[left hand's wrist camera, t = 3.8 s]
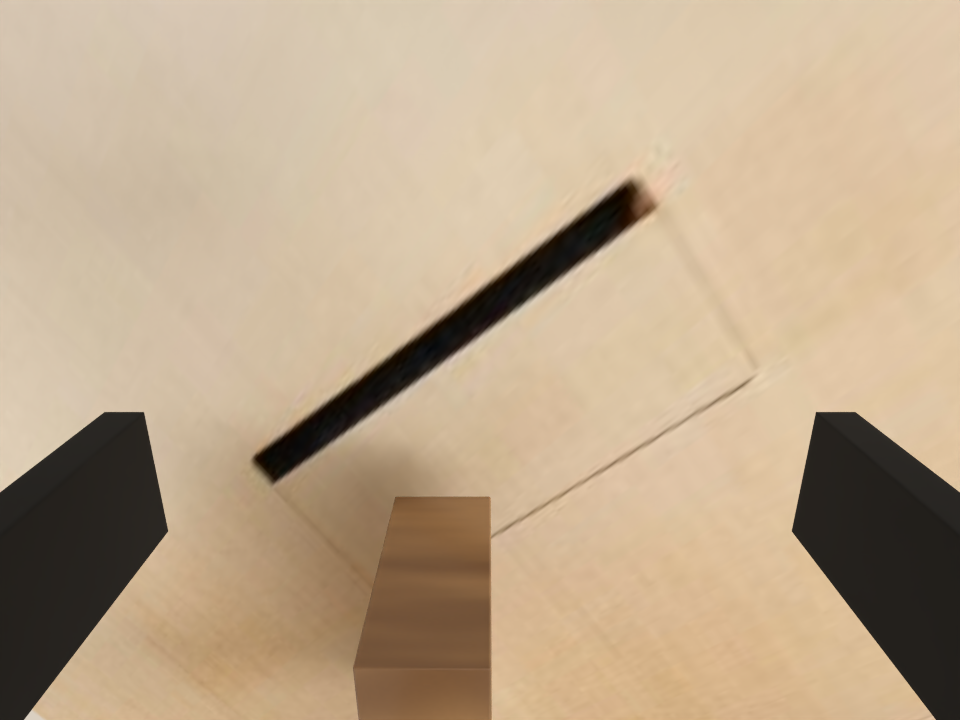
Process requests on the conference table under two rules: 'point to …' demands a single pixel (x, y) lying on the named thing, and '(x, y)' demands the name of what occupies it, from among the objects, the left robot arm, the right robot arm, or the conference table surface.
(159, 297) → the conference table surface
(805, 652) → the conference table surface
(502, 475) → the conference table surface
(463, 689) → the box
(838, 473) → the left robot arm
